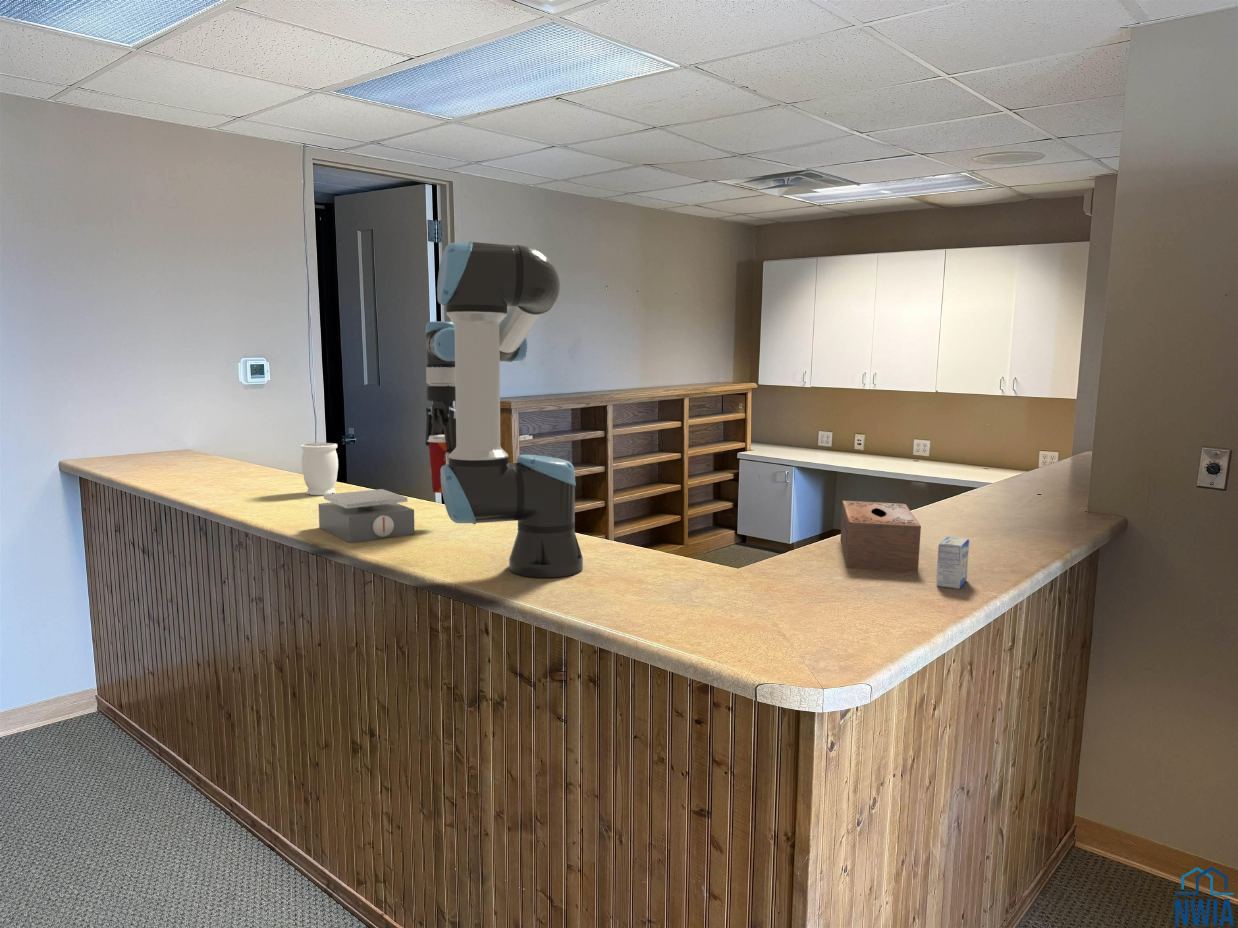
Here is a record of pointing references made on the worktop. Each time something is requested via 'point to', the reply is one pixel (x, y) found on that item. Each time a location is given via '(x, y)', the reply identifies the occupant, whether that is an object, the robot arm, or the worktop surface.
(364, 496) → the scale pan
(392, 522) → the scale base
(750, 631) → the worktop surface
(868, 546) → the tissue box cover
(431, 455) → the paper cup
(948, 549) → the medicine box
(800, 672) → the worktop surface
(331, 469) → the jar
